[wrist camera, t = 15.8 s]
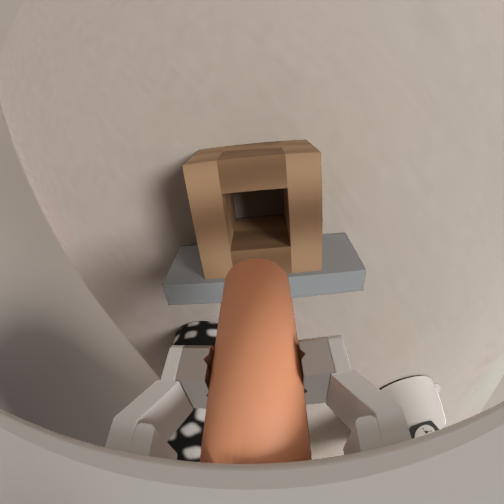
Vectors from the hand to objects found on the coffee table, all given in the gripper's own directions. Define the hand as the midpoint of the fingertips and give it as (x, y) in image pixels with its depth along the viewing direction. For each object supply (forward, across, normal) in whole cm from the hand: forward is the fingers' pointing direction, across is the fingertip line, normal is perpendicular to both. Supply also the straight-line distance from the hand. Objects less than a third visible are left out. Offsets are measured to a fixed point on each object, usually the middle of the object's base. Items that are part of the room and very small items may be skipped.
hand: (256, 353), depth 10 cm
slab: (+18, 0, +6) cm, 18 cm away
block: (+18, 0, 0) cm, 18 cm away
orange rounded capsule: (+4, 0, 0) cm, 4 cm away
